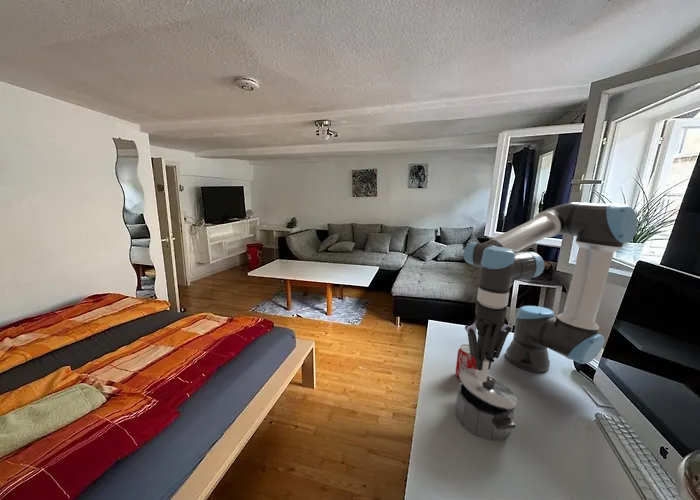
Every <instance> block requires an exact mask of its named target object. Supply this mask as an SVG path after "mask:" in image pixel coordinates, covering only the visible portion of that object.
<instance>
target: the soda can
mask: <svg viewBox="0 0 700 500" xmlns="http://www.w3.org/2000/svg"><path fill="white" fill-rule="evenodd" d="M456 355H457V356H456V365H455V375H456V377H457V378H458V379H459V380H460V378H459V375H460V372H461V370H463V369H467V368H469V369H475V370H477V368H476V366H475V365H476V359H475V358H474V357H473V356H472V355H471V354H470V348H469V344H468V343H467V344H466V343H465V344H462V345H460V347H459V348H458V351H457V354H456Z"/></svg>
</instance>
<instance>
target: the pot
mask: <svg viewBox="0 0 700 500" xmlns="http://www.w3.org/2000/svg"><path fill="white" fill-rule="evenodd" d="M455 401H456V402H455V414H454V415H455V417H456V419H457V420H458V422H459V423H460V425H461V426H462V427H463V428H465V430H467V431H469V432H470V433H471V434H472V435H474V436H475V437H480V438H483V439H485V440H489V441H499V440H505V439H506V438H507V437H508V435H510V433H511V432H512V429H515V428H516V426H517V425H516V423H515V422H514V421H513V420H514V415H515V409H516V407H515V408H514V409H510V410H506V409H501V408H497V407H495V406H492V405H490V404H488V403H486V402H484V401H482V400H481V399H479V398H477V397H476V396H475V395H473V394H472V393H471V392H470V391H469V390H468V389H467V388H466V387H465V386H464V385H463V384H462V382H461V381H460V382H459V383H458V386H457V393H456V400H455Z"/></svg>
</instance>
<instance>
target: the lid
mask: <svg viewBox="0 0 700 500" xmlns="http://www.w3.org/2000/svg"><path fill="white" fill-rule="evenodd" d="M476 374H477V370H475V369H469V368H467V369H463V370H461V372H460V375H459V378H460V379H459V378H458V379H459V381H460V383H461V382H462V384H463V385H464V386H465V387H466V388H467V389H468V390H469V391H470V392H471V393H472V394H473V395H475V396H476V397H477V398H479V399H481V400H482V401H484V402H486V403H488V404H490V405H492V406H495V407H497V408H501V409H506V410H510V409H514V408H515V409H516V406H517V404H518V399H517V397H516V394H515V393H514V392H513V391H512V390H511V388H509V387H508V386H507V385H506V384H504V383H503V382H501V381H500V380H499V379H497V378H495V377H494V376H492V375H490V374H487V381H486V382H481V381H480V379H479V378H478V377H477V376H476Z"/></svg>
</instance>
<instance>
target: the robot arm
mask: <svg viewBox="0 0 700 500" xmlns="http://www.w3.org/2000/svg"><path fill="white" fill-rule="evenodd" d="M637 229H638V217H637V214H636V211H635V210H634V208H633V207H632V206H630V205H627V204H619V203H614V202H613V203H612V202H611V203H599V202H596V203H595V202H576V201H575V202H568V203H564V204H559V205H556V206H553V207H549V208H547V209H544V210H543V211H541V212H539V213H537V214H536V215H534V217H533V218H532V219H531V220H528V221H527V222H525V223H522V224H520V225H518V226H516V227H514V228H512V229H510V230H509V231H506V232H504V233H502V234H500V235H497V236H495V237H493V238H491V239H489V240H488V241H485V242H475V241H474V242H469V243H468V244H467V245H465V247H464V250H463V259H464V261H465V262H466V263H467V264H470V265H472V266H474V267H478V268H480V273H479V281H478V282H479V283H478V289H477V296H476V300H477V301H476V303H475V311H474V312H475V314H474V315H475V318H474V320H473V323H472V324H471V325H465V326H464V329H465V331H466V332H467V339H468V345H469V348H470V354H471V355H472V356H473V357H474V358H475V359H476V365H475V366H476V368H477V374H476V376H477V377H478V378H479V379H480V381H481V382H486V381H487V374H488V372H489V370H490V369H491V368H492V367H491V365H492V363H494V362H495V359H498V358H499V357H500V355H501V353H502V350H503V347H504V344H505V342H506V340H507V337H508V335H509V334H510V332H511V331H512V327H511V326H509V325H508V324H506V323H505V320H506V315H507V312H508V311H507V310H508V307H507V306H508V304H509V298H510V297H509V296H510V288H511V283H512V282H514V281H515V282H516V281H521V280H530V279H532V278H536V277H539V276H540V275H541V274H542V273H543V272H544V270H545V260H544V259H543V257H542V256H541V255H540V254H538V253H537V252H534V251H528V250H527V251H522V250H523V249H525V248H528V247H529V246H533V244H536V243H537V242H539V241H541V240H543V239H545V238H552V237H555V236H557V235H558V236H560V235H567V236H572V237H574V236H575V237H576V239H575V243H576V244H577V245H578V247H579V250H578V253H577V257H576V261H575V265H574V269H573V274H572V278H571V280H570V281H571V282H570V285H569V290H568V294H567V296H566V301H565V304H564V309H563V312H561V313H559V314H557V315H556V317H555V312H554V311H553V310H552V309H551V308H546V307H545V306H544V307H543V306H540V305H539V306H538V305H537V306H536V305H523V306H521V307H519V308H518V309H517V313H516V316H515V325H514V330H513V336H512V337H513V338H512V340H511V342H510V343H509V345H508V347H507V348H506V351H505V357H506V359H507V361H509V362H510V364H512V365H514V366H516V367H517V368H520V369H522V370H525V371H528V372H531V373H546V372H548V371H549V370H550V365H551V361H550V358H549V352H548V349H549V350H552V351H553V352H555V353H556V354H557V353H558V354H559V355H561V356H563V357H565V358H567V359H568V360H572V361H574V362H576V363H579V364H582V365H583V364H584V365H585V364H589V363H591V362H592V361H594V360H595V358H596V357H598V356H599V354H600V353H601V352H602V350H603V348H604V345H605V337H604V335H602V334H600V333H599V329H600V326H599V324H597V323H596V318H597V315H598V311H599V307H600V305H601V301H602V300H601V299H602V297H603V293H604V291H605V285H606V284H607V283H606V282H607V279H608V275H609V271H610V268H611V264H612V260H613V257H614V253H615V252H616V251H619V250H621V249H623V245H624V244H628V243H630V242H631V241H633V239H634V238H635V236H636V233H637ZM520 251H522V252H520ZM476 334H477V335H476ZM488 375H489V374H488Z"/></svg>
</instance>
